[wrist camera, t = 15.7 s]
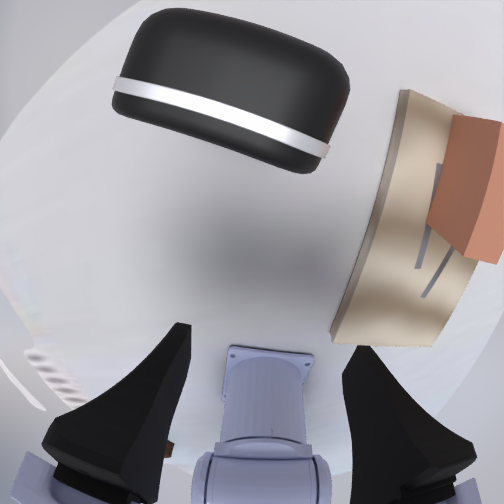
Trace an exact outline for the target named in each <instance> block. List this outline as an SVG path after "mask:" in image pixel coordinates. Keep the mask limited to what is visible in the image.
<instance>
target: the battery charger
mask: <svg viewBox="0 0 504 504" xmlns="http://www.w3.org/2000/svg"><path fill="white" fill-rule="evenodd" d="M113 90H115V92H114V95H113V99H112V107H113V109H114V110H115V111H116V112H117V113H118V114H120V115H123V116H126V117H129V118H132V119H135V120H139V121H142V122H146V123H149V124H153V125H156V126H160V127H163V128H166V129H170V130H173V131H176V132H179V133H182V134H186V135H189V136H192V137H195V138H198V139H201V140H204V141H207V142H210V143H213V144H216V145H219V146H222V147H224V148H227V149H230V150H233V151H236V152H239V153H241V154H244V155H247V156H249V157H252V158H255V159H257V160H260V161H263V162H265V163H268V164H271V165H273V166H276V167H279V168H282V169H285V170H288V171H291V172H294V173H299V174H308V173H312V172H313V171H315V170H316V168H317V166H318V165H319V163H320V160H321V158H325V157H326V155H327V153H328V150H329V148H330V145H328V143H329V141H330V138H331V136H332V134H333V132H334V129H335V127H336V125H337V123H338V121H339V118H340V116H341V114H342V112H343V109H344V107H345V105H346V102H347V98H348V95H349V92H350V83H349V77H348V75H347V73H346V71H345V69H344V67H343V65H342V64H341V63H340V62H339V61H338V60H337V59H336V58H334V57H333V56H332V55H331V54H330V53H328V52H326V51H324V50H323V49H321V48H319V47H316V46H314V45H312V44H310V43H307V42H305V41H302V40H300V39H297V38H295V37H292V36H290V35H287V34H284V33H282V32H279V31H276V30H273V29H270V28H267V27H264V26H261V25H258V24H255V23H251V22H248V21H244V20H240V19H236V18H232V17H228V16H224V15H220V14H215V13H210V12H205V11H200V10H194V9H187V8H169V9H164V10H161V11H159V12H156V13H154V14H152V15H150V16H149V17H148V18H147V19H146V20H145V21H144V22H143V23H142V24H141V26H140V28H139V30H138V31H137V33H136V35H135V37H134V40H133V42H132V44H131V47H130V49H129V52H128V55H127V57H126V60H125V63H124V65H123V68H122V71H121V74H120V77H119V76H117V77H116V80H115V83H114V86H113Z"/></svg>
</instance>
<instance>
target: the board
mask: <svg viewBox="0 0 504 504" xmlns="http://www.w3.org/2000/svg"><path fill="white" fill-rule="evenodd" d="M453 115H462V116H464V115H463V114H461V113H459V112H457V111H455V110H453V109H451V108H449V107H447V106H445V105H443V104H441V103H439V102H437V101H435V100H433V99H431V98H429V97H427V96H424V95H422V94H420V93H417V92H415V91H413V90H410V89H409V90H400V94H399V100H398V106H397V112H396V117H395V122H394V127H393V132H392V137H391V142H390V146H389V151H388V155H387V159H386V164H385V168H384V172H383V176H382V180H381V183H380V187H379V191H378V194H377V198H376V202H375V205H374V209H373V212H372V215H371V219H370V222H369V225H368V229H367V232H366V235H365V238H364V241H363V244H362V247H361V250H360V253H359V256H358V259H357V262H356V265H355V268H354V271H353V273H352V276H351V279H350V282H349V284H348V287H347V290H346V292H345V295H344V298H343V300H342V303H341V305H340V308H339V310H338V313H337V315H336V318H335V320H334V323H333V325H332V327H331V330H330V334H331V338H332V343H337V344H351V345H369V346H396V347H432V346H433V344H434V343H435V341H436V339H437V338H438V336H439V335H440V333H441V331H442V330H443V328H444V326H445V325H446V323H447V321H448V320H449V318H450V316H451V315H452V313H453V311H454V309H455V307H456V306H457V304H458V302H459V300H460V298H461V296H462V294H463V292H464V290H465V288H466V286H467V284H468V282H469V280H470V278H471V276H472V274H473V272H474V270H475V268H476V265H477V263H478V261H479V260H476V259H472V258H468V257H463V256H462V255H461V254H460V253H459V252H458V251H457V250H456V249H455V248H454V247H453V246H451V245H450V244H449V243H448V242H447V241H446V240H445V239H444V238H443V237H441V236H440V235H439V234H438V233H437V232H436V231H435V230H433V229H432V228H431V227H430V226H429V225H428V224H426V223H425V222H426V219H427V216H428V213H429V210H430V207H431V204H432V201H433V198H434V194H435V191H436V187H437V184H438V180H439V177H440V173H441V169H442V165H443V161H444V157H445V152H446V148H447V143H448V139H449V134H450V128H451V123H452V117H453Z"/></svg>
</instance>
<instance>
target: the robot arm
mask: <svg viewBox="0 0 504 504" xmlns="http://www.w3.org/2000/svg"><path fill="white" fill-rule="evenodd" d="M232 354H234V355H232ZM190 360H191V325H189V324H184V323H179V322H177V323H175V324H174V325H173V327H172V328H171V329H170V331H169V332H168V333H167V335H166V336H165V337H164V338H163V339H162V341H161V342H160V343H159V344H158V345H157V346H156V347H155V349H154V350H153V351H152V352H151V353H150V354H149V355H148V356H147V357H146V358H145V359H144V360H143V361H142V362H141V363H140V364H139V365H138V366H137V367H136V368H135V369H134V370H133V371H132V372H130V373H129V374H128V375H127V376H126V377H125V378H123V379H122V380H121V381H120V382H118V383H117V384H116V385H114V386H113V387H111V388H110V389H109V390H107V391H106V392H104V393H103V394H101V395H100V396H98V397H97V398H95V399H93V400H91V401H90V402H88V403H86V404H84V405H83V406H81V407H79V408H77V409H75V410H73V411H70V412H68V413H66V414H64V415H61V416H59V417H56V418H55V419H54V421H53V422H52V424H51V425H50V427H49V429H48V431H47V433H46V435H45V437H44V439H43V442H42V447H43V448H44V450H45V451H46V452H47V453H48V454H50V455H51V456H52V457H53V458H54V459H55V460H56V461H57V462H58V465H57V467H55V466H53V465H51V464H50V463H48V462H46V461H45V460H43V459H41V458H39V457H38V456H36V455H34V454H33V453H31V452H29V451H27V452H26V454H25V456H24V459H23V461H22V463H21V466H20V468H19V471H18V473H17V476H16V478H15V480H14V483H13V486H12V488H11V491H10V494H9V495H10V497H11V498H13V499H14V500H16V501H17V502H18V503H20V504H140V503H143V504H153V503H155V502H157V500H158V492H159V485H160V477H161V471H162V466H163V460H164V455H165V449H166V444H167V439H168V434H169V430H170V426H171V422H172V419H173V416H174V413H175V410H176V407H177V404H178V401H179V398H180V395H181V392H182V389H183V386H184V384H185V381H186V378H187V373H188V369H189V364H190ZM313 362H314V357H313V356H312V355H303V354H293V353H283V352H274V351H266V350H258V349H250V348H243V347H236V346H232V347H230V348H229V349H228V356H227V363H226V370H225V378H224V385H223V392H222V399H221V400H222V401H223V402H224V403H225V407H224V415H223V422H222V429H221V437H220V442H216V443H215V449H214V453H213V452H206V453H205V454H204V455H203V456H202V457H200V458H199V459H198V461H197V463H196V466H195V469H194V473H193V479H192V486H191V504H331V497H332V480H331V473H330V469H329V466H328V463H327V462H326V461H325V460H324V459H323V458H322V457H321V456H320V455H312V445H311V444H308V445H306V431H305V416H304V403H303V391H302V386H303V384H304V382H305V380H306V377H307V375H308V373H309V371H310V369H311V367H312V365H313ZM342 385H343V395H344V401H345V406H346V411H347V416H348V421H349V427H350V432H351V439H352V457H353V469H352V471H353V472H352V490H351V498H350V504H481V499H480V495H479V491H478V487H477V483H476V480H475V478H472V479H470V480H468V481H466V482H463V483H461V484H459V485H457V486H455V487H454V485H453V482H455V481H456V476H455V475H456V474H457V473H459V472H460V471H462V470H463V469H465V468H466V467H468V466H469V465H471V464H472V463H473V462H474V461H475V460H476V458H477V455H476V452H475V450H474V446H473V443H472V442H470V441H468V440H466V439H464V438H462V437H460V436H459V435H457V434H455V433H454V432H452V431H450V430H449V429H448V428H446V427H444V426H443V425H442V424H440V423H439V422H438V421H437V420H435V419H434V418H433V417H432V416H430V415H429V414H428V413H427V412H426V411H425V410H424V409H423V408H422V407H421V406H420V405H419V404H418V403H417V402H416V401H415V400H414V399H413V398H412V397H411V396H410V395H409V394H408V393H407V392H406V391H405V389H404V388H403V387H402V386H401V385H400V384H399V382H398V381H397V380H396V379H395V377H394V376H393V375H392V374H391V372H390V371H389V370H388V368H387V367H386V366H385V364H384V363H383V362H382V361H381V359H380V358H379V357H378V355H377V354H376V353H375V352H374V350H373V349H372V348H371V347H370V346H365V345H358V346H357V348H356V350H355V351H354V353H353V355H352V357H351V359H350V361H349V362H348V364H347V366H346V368H345V369H344V371H343V373H342Z"/></svg>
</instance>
